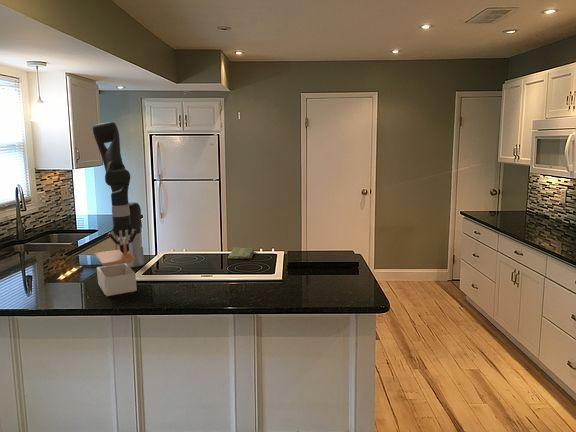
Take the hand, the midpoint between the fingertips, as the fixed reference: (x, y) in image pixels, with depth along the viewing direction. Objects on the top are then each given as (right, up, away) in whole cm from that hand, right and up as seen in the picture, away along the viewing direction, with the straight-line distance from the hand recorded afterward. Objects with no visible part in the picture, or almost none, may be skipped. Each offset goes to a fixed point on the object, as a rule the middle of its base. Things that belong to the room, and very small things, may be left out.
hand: (124, 252), depth 222 cm
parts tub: (-4, -16, +1) cm, 16 cm away
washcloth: (+48, -6, +50) cm, 70 cm away
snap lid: (-4, -3, -2) cm, 5 cm away
